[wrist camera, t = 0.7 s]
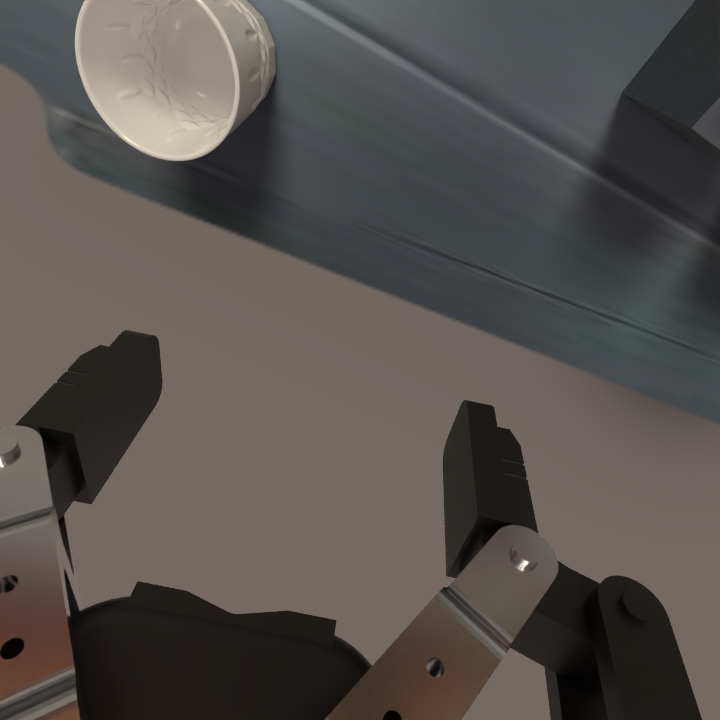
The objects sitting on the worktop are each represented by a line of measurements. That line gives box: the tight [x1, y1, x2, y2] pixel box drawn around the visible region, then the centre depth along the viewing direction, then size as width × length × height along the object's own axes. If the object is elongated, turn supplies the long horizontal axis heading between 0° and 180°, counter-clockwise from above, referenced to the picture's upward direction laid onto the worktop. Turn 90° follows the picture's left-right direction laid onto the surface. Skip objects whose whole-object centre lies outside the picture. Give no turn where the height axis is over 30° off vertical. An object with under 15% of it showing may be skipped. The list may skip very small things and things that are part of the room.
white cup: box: [75, 0, 276, 161], centre depth 28 cm, size 8×8×10 cm
